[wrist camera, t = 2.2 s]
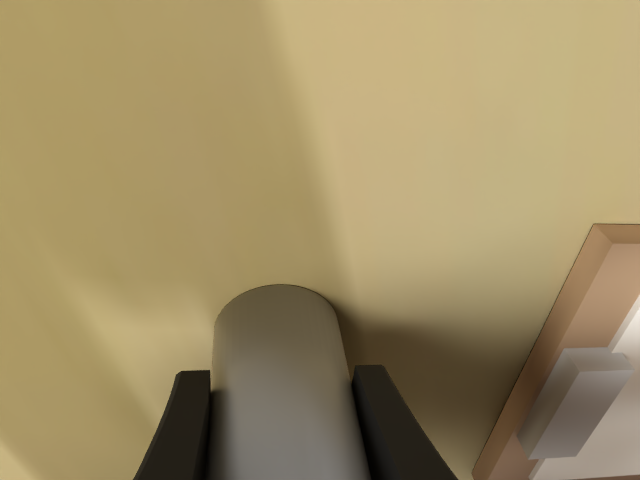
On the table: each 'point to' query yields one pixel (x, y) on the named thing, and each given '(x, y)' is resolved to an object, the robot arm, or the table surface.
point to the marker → (282, 391)
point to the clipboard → (579, 376)
